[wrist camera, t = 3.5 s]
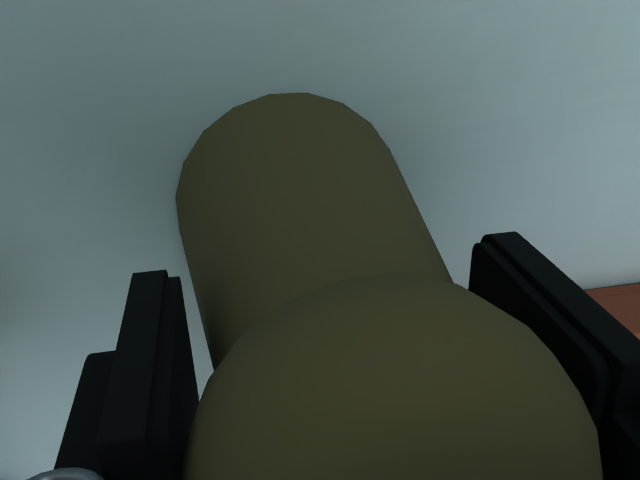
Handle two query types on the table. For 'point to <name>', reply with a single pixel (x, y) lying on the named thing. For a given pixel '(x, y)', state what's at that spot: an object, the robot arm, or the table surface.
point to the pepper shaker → (351, 321)
